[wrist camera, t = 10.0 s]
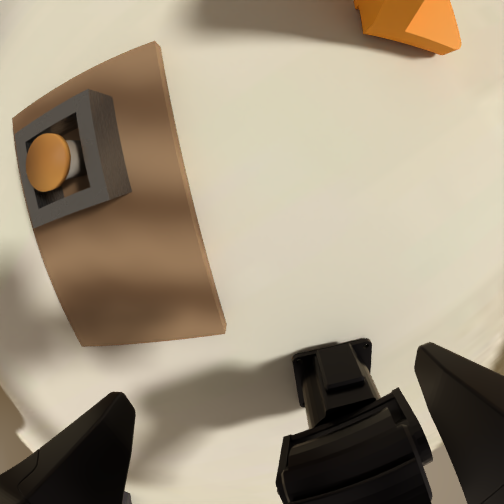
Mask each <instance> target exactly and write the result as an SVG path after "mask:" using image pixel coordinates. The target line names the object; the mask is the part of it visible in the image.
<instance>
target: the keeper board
mask: <svg viewBox="0 0 504 504" xmlns="http://www.w3.org/2000/svg"><path fill="white" fill-rule="evenodd" d="M87 89H90V90H94V91H97V92H100V93H103V94H106V95H109V96H112V97H113V103H114V109H115V115H116V121H117V126H118V131H119V136H120V141H121V146H122V151H123V156H124V160H125V164H126V169H127V173H128V177H129V181H130V185H131V189H132V192H130V193H128V194H125V195H122V196H119V197H116V198H114V199H111V200H108V201H105V202H102V203H99V204H96V205H93V206H91V207H88V208H85V209H82V210H79V211H77V212H74V213H71V214H69V215H66V216H63V217H61V218H58V219H56V220H53V221H51V222H48V223H46V224H43V225H41V226H38V227H36V228H33V225H32V228H33V231H34V234H35V237H36V241H37V244H38V247H39V250H40V253H41V256H42V258H43V261H44V264H45V267H46V269H47V272H48V275H49V277H50V280H51V282H52V285H53V287H54V289H55V292H56V294H57V297H58V299H59V301H60V303H61V306H62V308H63V310H64V312H65V314H66V316H67V318H68V320H69V322H70V325H71V327H72V329H73V330H74V332H75V334H76V336H77V338H78V340H79V342H80V344H81V346H82V347H85V346H107V345H123V344H137V343H149V342H160V341H170V340H179V339H188V338H196V337H204V336H212V335H219V334H225V331H226V325H227V324H226V321H225V317H224V314H223V311H222V307H221V304H220V300H219V297H218V294H217V290H216V287H215V283H214V280H213V276H212V272H211V269H210V265H209V262H208V258H207V254H206V251H205V247H204V243H203V239H202V235H201V232H200V228H199V224H198V220H197V216H196V212H195V208H194V204H193V200H192V196H191V192H190V188H189V184H188V179H187V175H186V171H185V166H184V162H183V158H182V153H181V149H180V144H179V140H178V135H177V130H176V126H175V121H174V116H173V111H172V106H171V101H170V96H169V91H168V86H167V81H166V75H165V70H164V64H163V58H162V53H161V47H160V46H159V45H158V44H157V43H156V42H155V41H153V42H150V43H148V44H145V45H142V46H140V47H137V48H135V49H132V50H130V51H127V52H125V53H123V54H120V55H118V56H116V57H114V58H111V59H109V60H107V61H105V62H103V63H101V64H99V65H97V66H95V67H93V68H91V69H89V70H87V71H85V72H83V73H81V74H79V75H78V76H76V77H74V78H72V79H70V80H69V81H67V82H65V83H64V84H62V85H60V86H59V87H57V88H55V89H54V90H52V91H50V92H49V93H47V94H46V95H44V96H43V97H41V98H40V99H38V100H37V101H35V102H34V103H32V104H31V105H30V106H28V107H27V108H25V109H24V110H23V111H21V112H20V113H19V114H17V115H16V116H15V117H13V118H12V121H13V132H14V134H15V133H17V132H18V131H20V130H21V129H22V128H24V127H25V126H27V125H28V124H29V123H31V122H32V121H34V120H35V119H37V118H38V117H40V116H42V115H43V114H45V113H46V112H48V111H49V110H51V109H53V108H54V107H56V106H58V105H59V104H61V103H63V102H65V101H66V100H68V99H70V98H72V97H73V96H75V95H77V94H79V93H81V92H83V91H85V90H87ZM14 141H15V135H14ZM15 149H16V144H15ZM16 156H17V151H16ZM17 162H18V158H17ZM18 168H19V164H18ZM19 173H20V169H19ZM26 173H27V177H28V179H29V181H30V183H31V185H32V186H33V187H34V188H35V189H37V190H38V191H42V192H46V191H50V190H54V189H56V188H58V187H59V186H61V185H62V189H63V194H64V198H65V197H67V196H70V195H72V194H74V193H77V192H79V191H82V190H84V189H87V188H90V183H89V179H88V175H87V170H86V166H85V161H84V156H83V151H82V146H81V140H80V135H79V129H78V128H76V129H74V130H72V131H70V132H68V133H67V134H65V135H63V136H61V135H59V134H54V133H46V134H42V135H40V136H38V137H37V138H36V139H35V140H34V141H33V143H32V144H31V146H30V148H29V150H28V153H27V157H26ZM20 179H21V175H20ZM21 183H22V180H21ZM22 188H23V185H22ZM23 193H24V189H23ZM24 197H25V194H24ZM25 201H26V198H25ZM26 205H27V202H26ZM27 209H28V206H27ZM28 213H29V210H28ZM29 217H30V214H29ZM30 221H31V218H30ZM31 224H32V221H31Z"/></svg>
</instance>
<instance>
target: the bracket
mask: <svg viewBox="0 0 504 504" xmlns="http://www.w3.org/2000/svg"><path fill="white" fill-rule="evenodd" d="M354 5H355V9H359V10H360V15H361V21H362V28H363V34H368V35H373V36H377V37H382V38H386V39H390V40H394V41H398V42H401V43H405V44H409V45H412V46H415V47H418V48H422V49H425V50H428V51H431V52H433V53H436V54H439V55H445V54H447V53H450V52H452V51H455V50H457V49H460V47H461V39H460V35H459V30H458V26H457V23H456V19H455V16H454V12H453V9H452V6H451V2H450V0H354Z"/></svg>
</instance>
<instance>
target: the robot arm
mask: <svg viewBox="0 0 504 504" xmlns="http://www.w3.org/2000/svg"><path fill="white" fill-rule="evenodd" d="M365 344H367V345H365ZM364 345H365V346H364ZM371 353H372V343H371V341H370V340H369V339H367V338H366V339H361V340H357V341H353V342H349V343H345V344H341V345H337V346H333V347H328V348H324V349H319V350H314V351H309V352H304V353H299V354H296V355H294V356H293V358H292V361H293V367H294V373H295V379H296V385H297V391H298V397H299V403H300V406H301V407H305V408H306V414H307V420H308V426H309V429H308V430H306V431H303V432H300V433H297V434H294V435H288V436H285V437H283V443H282V448H281V454H280V460H279V466H278V472H277V477H276V487H277V492H278V494H279V495H280V498H281V500H282V502H283V504H431V499H432V492H431V488H430V485H429V482H428V480H427V477H426V473H425V471H424V468H423V466H424V465H426V464H428V463H430V462H432V461H433V457H432V453H431V450H430V447H429V444H428V441H427V439H426V436H425V434H424V432H423V430H422V427H421V425H420V423H419V421H418V420H417V418H416V416H415V414H414V413H413V411H412V409H411V407H410V406H409V404H408V402H407V401H406V399H405V397H404V396H403V394H402V392H401V391H400V389H399V387H398V388H396V389H394V390H392V392H391V393H389V394H387V395H386V396H384V397H382V398H381V397H380V395H379V392H378V390H377V388H376V386H375V383H374V381H373V379H372V377H371V375H370V369H371ZM298 359H301V360H299V361H297V360H298ZM414 369H415V374H416V376H417V379H418V382H419V384H420V387H421V390H422V393H423V395H424V398H425V401H426V404H427V407H428V410H429V412H430V414H431V417H432V419H433V421H434V423H435V425H436V427H437V430H438V432H439V434H440V436H441V438H442V441H443V443H444V445H445V447H446V450H447V452H448V454H449V457H450V459H451V462H452V464H453V466H454V469H455V471H456V474H457V476H458V479H459V482H460V484H461V487H462V490H463V492H464V495H465V498H466V501H467V503H468V504H504V376H503V375H501V374H499V373H496V372H494V371H492V370H490V369H488V368H486V367H483V366H481V365H479V364H477V363H475V362H473V361H471V360H468V359H466V358H464V357H462V356H460V355H458V354H456V353H453V352H451V351H449V350H447V349H445V348H443V347H441V346H438V345H436V344H434V343H432V342H429V343H426V344H423V345H420V346H419V347H418V350H417V355H416V360H415V366H414ZM135 416H136V414H135V409H134V407H133V406H132V404H131V403H130V401H129V400H128V398H127V397H126V395H125V394H124V393H122V392H111V393H109V394H108V395H107V396H106V397H104V398H103V399H102V400H101V401H99V402H98V403H97V404H96V405H94V406H93V407H92V408H91V409H89V410H88V411H87V412H86V413H84V414H83V415H82V416H81V417H79V418H78V419H77V420H75V421H74V422H73V423H72V424H70V425H69V426H68V427H67V428H65V429H64V430H63V431H61V432H60V433H59V434H58V435H56V436H55V437H54V438H52V439H51V440H50V441H49V442H47V443H46V444H45V445H43V446H42V447H41V448H40V449H38V450H37V451H36V452H34V453H33V454H32V455H30V456H29V457H27V458H26V459H25V460H23V461H22V462H20V463H19V464H17V465H16V466H14V467H12V468H11V469H9V470H7V471H6V472H4V473H2V474H1V475H0V504H122V502H123V496H124V490H125V484H126V479H127V473H128V468H129V463H130V458H131V452H132V444H133V434H134V424H135Z"/></svg>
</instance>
